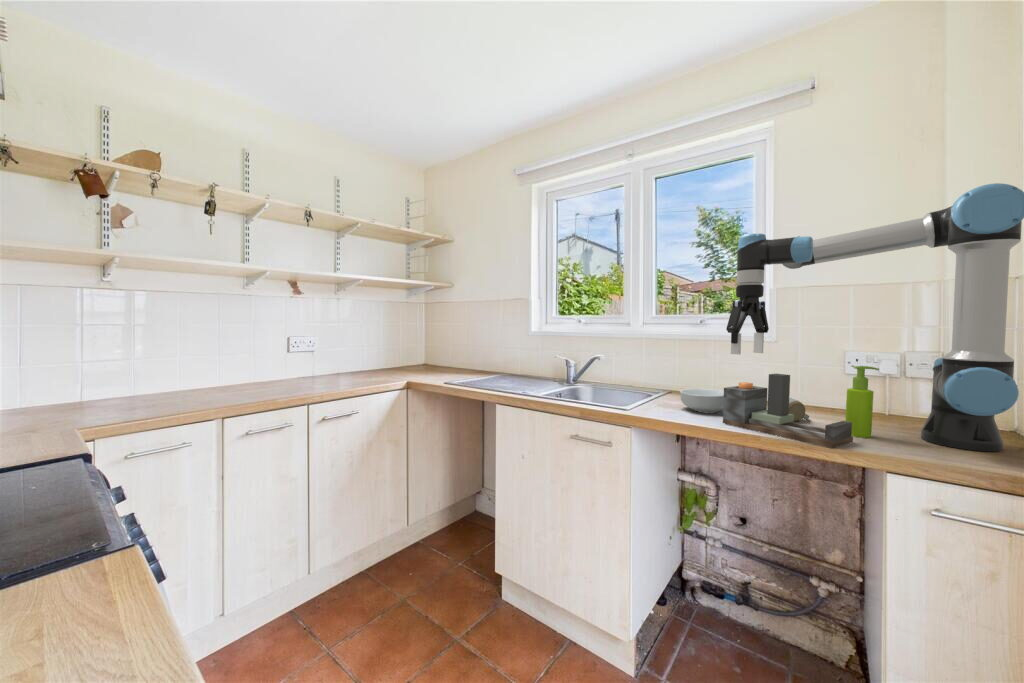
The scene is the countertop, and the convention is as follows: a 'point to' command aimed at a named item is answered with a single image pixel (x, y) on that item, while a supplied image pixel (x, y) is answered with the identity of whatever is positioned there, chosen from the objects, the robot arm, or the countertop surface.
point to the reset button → (745, 385)
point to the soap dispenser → (860, 404)
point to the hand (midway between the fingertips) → (747, 353)
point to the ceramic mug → (797, 410)
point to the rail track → (747, 401)
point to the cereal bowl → (703, 399)
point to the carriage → (776, 401)
